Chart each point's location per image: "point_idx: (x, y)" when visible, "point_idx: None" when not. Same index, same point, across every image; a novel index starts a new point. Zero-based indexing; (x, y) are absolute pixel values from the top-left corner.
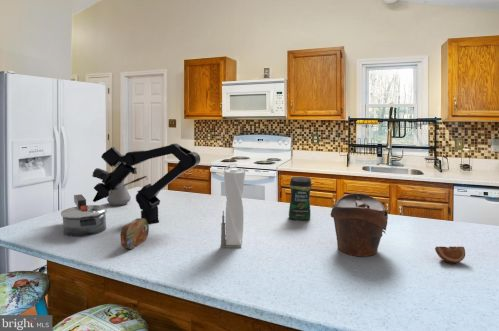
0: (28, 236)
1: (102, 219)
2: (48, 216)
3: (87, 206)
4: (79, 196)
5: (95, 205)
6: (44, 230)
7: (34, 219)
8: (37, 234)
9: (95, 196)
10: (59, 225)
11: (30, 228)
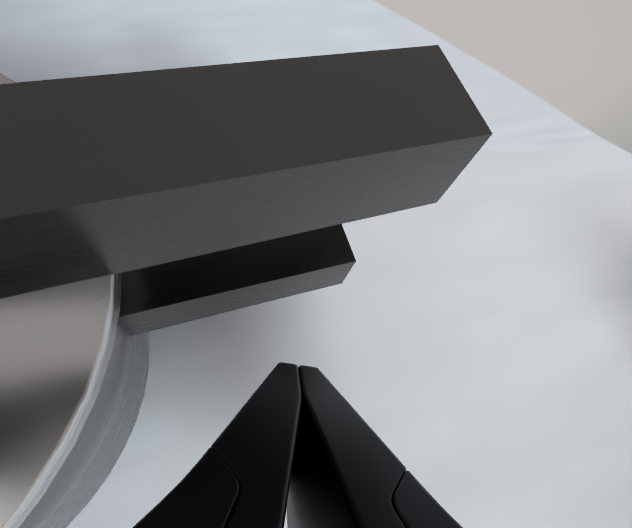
0: (4, 20)
1: None
2: (467, 78)
3: (3, 318)
4: (316, 111)
5: (18, 464)
6: None
7: (407, 25)
8: (26, 56)
9: (232, 425)
10: None
11: (204, 19)
